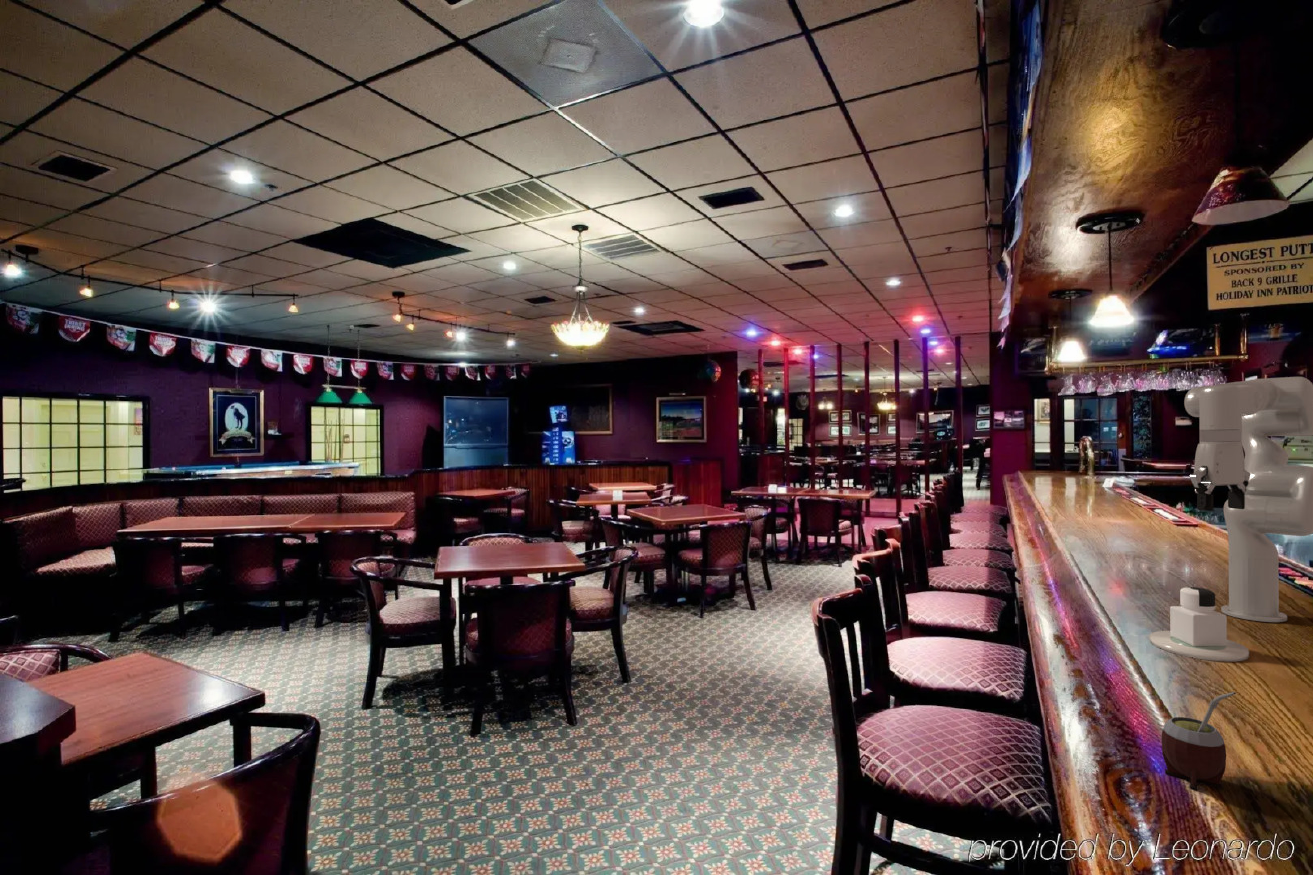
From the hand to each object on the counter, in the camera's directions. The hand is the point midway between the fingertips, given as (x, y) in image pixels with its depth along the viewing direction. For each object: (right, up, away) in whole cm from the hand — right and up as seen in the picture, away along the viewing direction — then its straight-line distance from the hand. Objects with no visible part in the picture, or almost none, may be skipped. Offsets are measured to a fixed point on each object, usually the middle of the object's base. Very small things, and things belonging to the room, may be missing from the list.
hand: (1220, 509), depth 150 cm
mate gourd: (-58, -32, -60) cm, 89 cm away
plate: (-12, -31, -7) cm, 34 cm away
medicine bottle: (-12, -29, -7) cm, 32 cm away
